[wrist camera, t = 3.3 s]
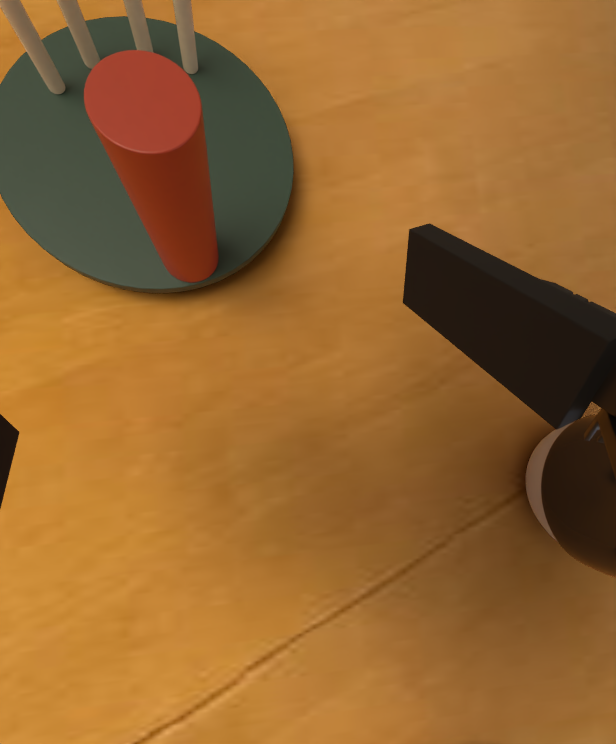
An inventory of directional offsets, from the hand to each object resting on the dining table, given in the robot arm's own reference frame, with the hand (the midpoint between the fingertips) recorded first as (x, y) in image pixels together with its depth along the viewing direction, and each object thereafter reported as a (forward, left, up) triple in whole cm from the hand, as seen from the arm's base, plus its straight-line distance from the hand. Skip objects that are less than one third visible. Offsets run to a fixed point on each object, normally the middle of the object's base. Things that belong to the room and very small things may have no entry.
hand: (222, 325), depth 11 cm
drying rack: (+1, -13, -13) cm, 19 cm away
